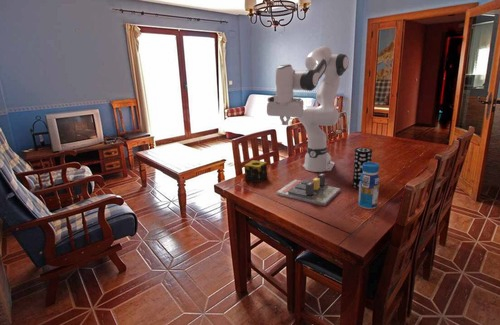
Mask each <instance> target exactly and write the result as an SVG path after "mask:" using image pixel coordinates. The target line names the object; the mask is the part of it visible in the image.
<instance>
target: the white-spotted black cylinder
mask: <svg viewBox="0 0 500 325" xmlns="http://www.w3.org/2000/svg"><path fill="white" fill-rule="evenodd" d="M372 156H373V149H371V148H368V147H358V148H357V147H356V148H355V149H354V157H353V158H354V159H353V174H352V175H353V176H352V187H353V188H355V189H358V190H359V182H360V176H361V174H362V173H363V170H362V167H363V163H365V162H372V158H373V157H372Z"/></svg>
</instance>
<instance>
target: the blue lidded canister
mask: <svg viewBox="0 0 500 325" xmlns="http://www.w3.org/2000/svg"><path fill="white" fill-rule="evenodd" d="M362 170H363V173H362V174H361V176H360V182H359V189H358V201H357V202H358V203H357V204H358V206H359V207H360V208H363V209H367V210H372V209H376V208H377V207H378V198H379V191H380V190H379V189H380V180H381V179H380V175H379V174H378V173H379V170H380V164H379V163H377V162H373V161H371V162H365V163H363V167H362Z"/></svg>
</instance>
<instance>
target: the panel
mask: <svg viewBox="0 0 500 325" xmlns="http://www.w3.org/2000/svg"><path fill="white" fill-rule="evenodd" d="M312 180H313V179H305V178H304V179H303V180H299V179H293V181H292V180H291V181H290V182H289V183H288V184H285V186H282V188H281V189H279V190H277V191H276V195H278V196H281V197H286V198H290V199H292V200H297V201H301V202H307V203H310V204H315V205H318V206H323V207H325V206H326V205H328V204H329V202H331V200H333V198H334V197H336V196H337V195H338V193H340V192H341V188H340V187H334V186H330V185H329V183H327V182H325V184H323V185H320V188H319V189H317V190H314V193H313V194H311V195H307V194H306V184H307V183H309V182H311V183H312Z"/></svg>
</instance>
